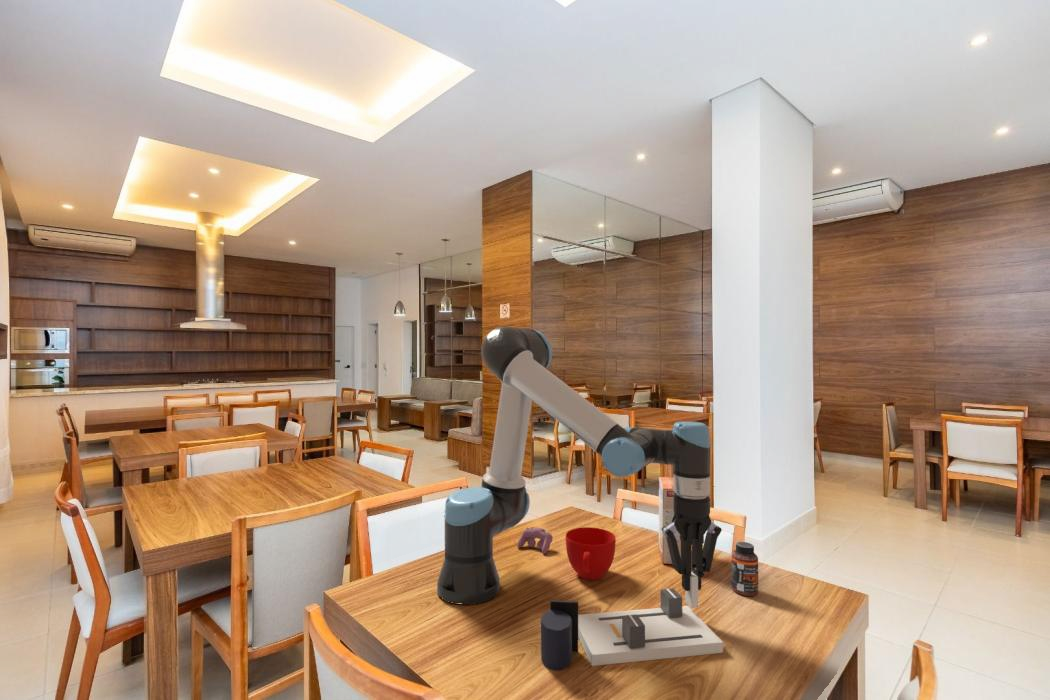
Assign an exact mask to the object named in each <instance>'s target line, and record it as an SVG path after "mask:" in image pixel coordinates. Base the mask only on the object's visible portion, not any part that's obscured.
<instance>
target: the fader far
mask: <svg viewBox="0 0 1050 700" xmlns="http://www.w3.org/2000/svg"><path fill="white" fill-rule="evenodd" d="M682 606H683V596H682V595H681V594H679V592H677V590H676V589H675V588H663V589H660V608H661V609H662V610H663V612H664V613H665V614H666V615H667V616H668V617H669V618H673V617H682Z"/></svg>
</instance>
